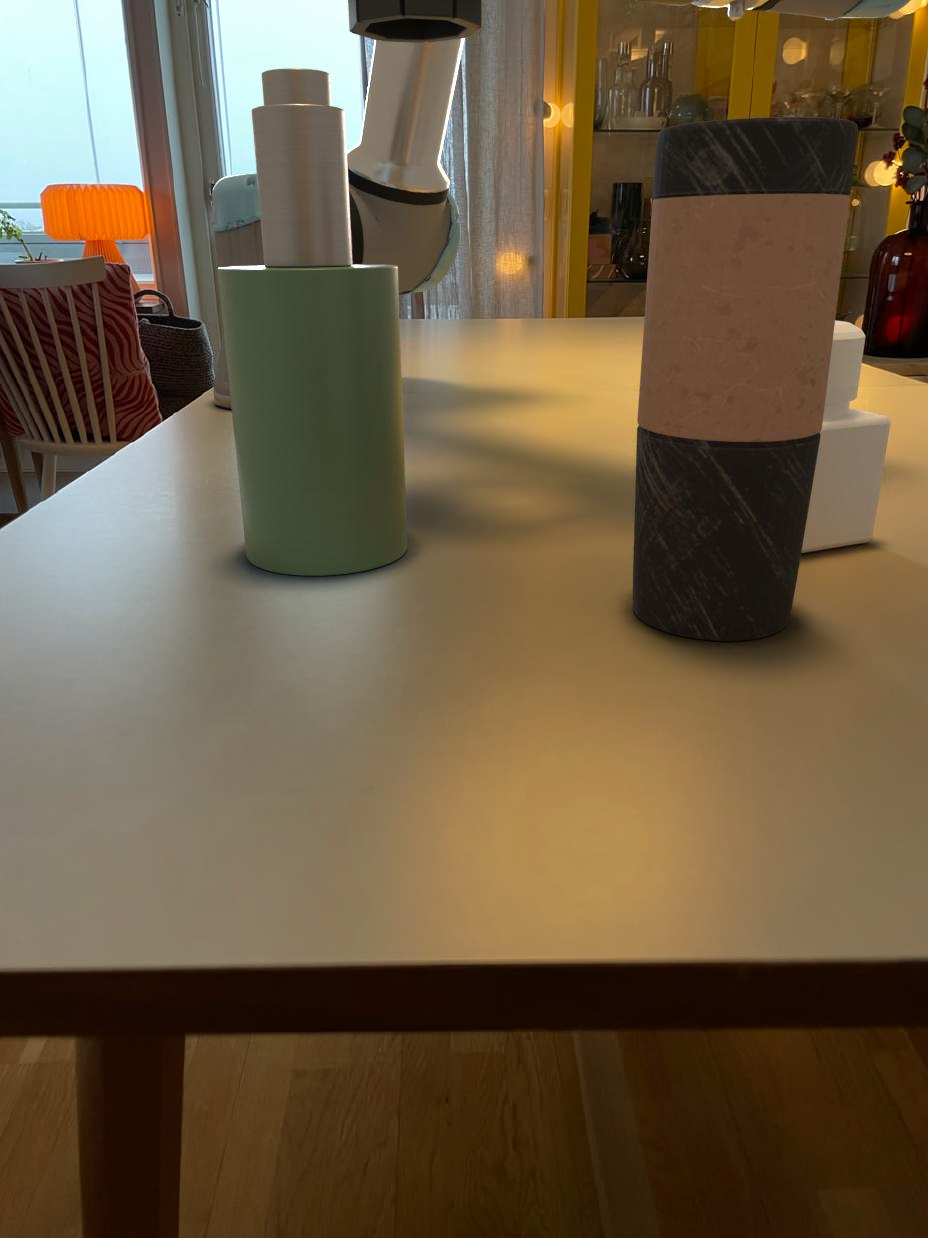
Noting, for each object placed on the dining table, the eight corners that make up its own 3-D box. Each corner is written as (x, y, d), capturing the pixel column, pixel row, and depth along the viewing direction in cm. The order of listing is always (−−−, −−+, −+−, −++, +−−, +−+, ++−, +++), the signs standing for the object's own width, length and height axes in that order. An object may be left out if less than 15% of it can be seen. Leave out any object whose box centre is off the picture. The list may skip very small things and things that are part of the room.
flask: (243, 534, 56) (197, 85, 47) (391, 522, 58) (374, 90, 49) (250, 583, 48) (196, 52, 39) (422, 567, 50) (408, 60, 41)
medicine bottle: (694, 526, 56) (711, 318, 52) (787, 512, 59) (811, 313, 55) (774, 560, 50) (801, 327, 46) (874, 543, 53) (910, 321, 48)
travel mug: (806, 650, 39) (881, 112, 32) (622, 637, 41) (653, 120, 33) (786, 589, 46) (843, 135, 39) (629, 579, 48) (655, 141, 40)
